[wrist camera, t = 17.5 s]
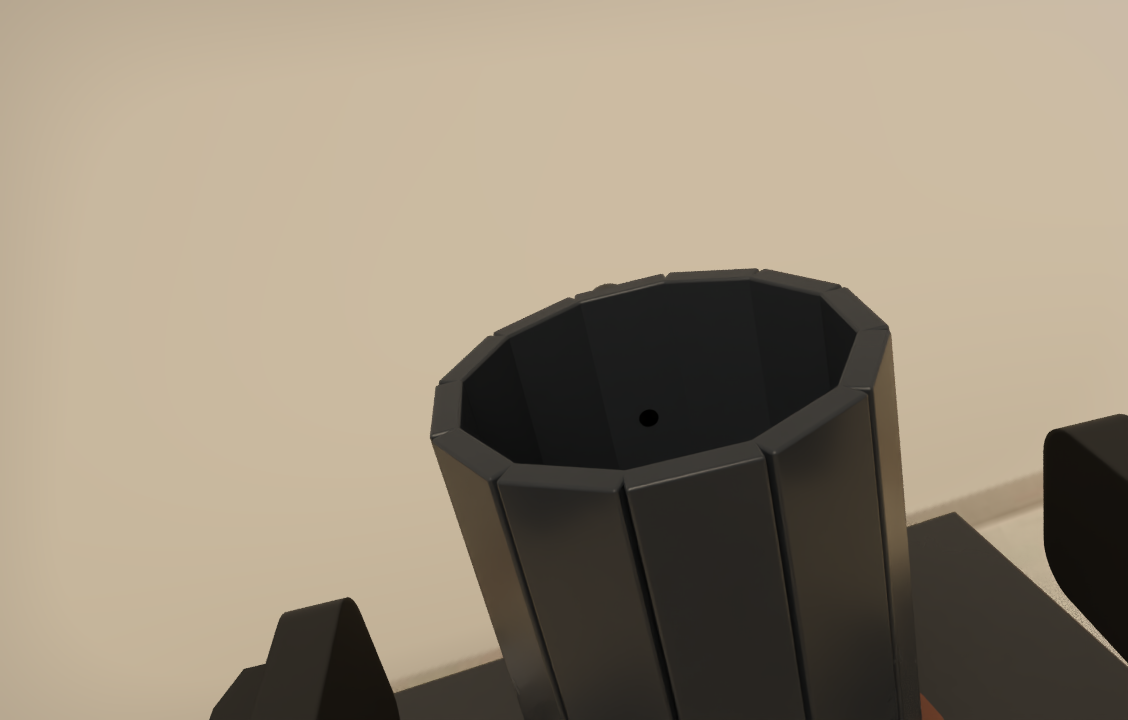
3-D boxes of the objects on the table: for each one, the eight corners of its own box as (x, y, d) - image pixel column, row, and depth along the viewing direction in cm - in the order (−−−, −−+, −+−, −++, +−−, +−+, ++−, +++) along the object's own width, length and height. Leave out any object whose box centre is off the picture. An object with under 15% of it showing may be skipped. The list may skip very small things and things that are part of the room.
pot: (998, 922, 14) (979, 405, 10) (587, 1014, 14) (416, 539, 10) (768, 490, 25) (718, 169, 21) (542, 543, 25) (452, 234, 21)
